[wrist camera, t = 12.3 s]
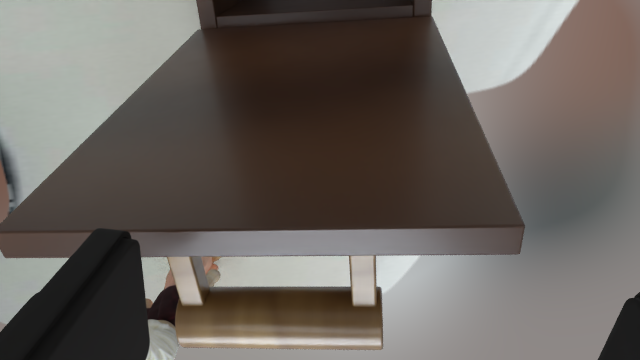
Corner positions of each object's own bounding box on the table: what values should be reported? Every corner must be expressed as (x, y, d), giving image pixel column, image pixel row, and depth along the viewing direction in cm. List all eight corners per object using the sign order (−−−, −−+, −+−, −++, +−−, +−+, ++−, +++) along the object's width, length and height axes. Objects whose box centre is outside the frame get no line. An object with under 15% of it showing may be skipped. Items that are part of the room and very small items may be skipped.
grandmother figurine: (191, 286, 46) (133, 404, 34) (159, 259, 44) (89, 372, 33) (248, 241, 43) (206, 355, 32) (216, 212, 42) (160, 318, 30)
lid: (-11, 232, 11) (75, 390, 14) (526, 225, 10) (494, 400, 13) (197, 29, 25) (218, 131, 28) (432, 16, 24) (428, 124, 27)
